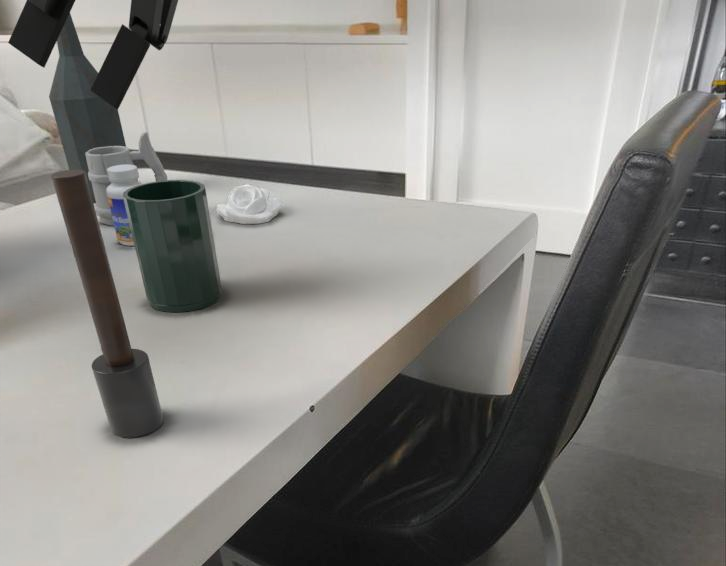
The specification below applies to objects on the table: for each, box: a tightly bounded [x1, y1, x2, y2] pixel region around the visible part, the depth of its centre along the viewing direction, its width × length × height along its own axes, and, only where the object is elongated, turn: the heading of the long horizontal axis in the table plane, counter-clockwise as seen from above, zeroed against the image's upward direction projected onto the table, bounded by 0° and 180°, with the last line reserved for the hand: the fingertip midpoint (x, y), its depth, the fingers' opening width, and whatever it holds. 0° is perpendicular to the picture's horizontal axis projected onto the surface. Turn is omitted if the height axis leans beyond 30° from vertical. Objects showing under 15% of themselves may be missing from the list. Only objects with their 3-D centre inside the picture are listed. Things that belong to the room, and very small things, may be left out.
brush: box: [50, 169, 164, 439], centre depth 52 cm, size 4×4×20 cm
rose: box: [215, 184, 283, 225], centre depth 104 cm, size 10×4×10 cm
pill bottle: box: [106, 164, 144, 247], centre depth 95 cm, size 5×5×10 cm
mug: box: [85, 131, 169, 226], centre depth 103 cm, size 8×12×12 cm, turn 95°
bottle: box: [48, 12, 127, 204], centre depth 110 cm, size 10×10×30 cm
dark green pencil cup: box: [123, 179, 223, 313], centre depth 77 cm, size 9×9×12 cm
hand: (69, 80), depth 59 cm, fingers open, 13 cm apart
